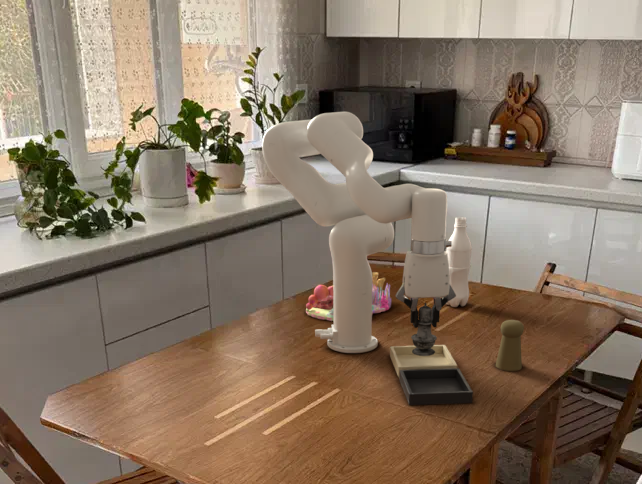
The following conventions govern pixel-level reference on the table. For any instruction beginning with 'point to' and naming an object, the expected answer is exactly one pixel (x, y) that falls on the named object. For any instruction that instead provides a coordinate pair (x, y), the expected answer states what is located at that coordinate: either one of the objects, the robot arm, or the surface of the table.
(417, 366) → the cream tray
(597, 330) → the table surface
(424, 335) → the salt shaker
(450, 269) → the water bottle
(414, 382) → the charcoal tray
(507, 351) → the cork
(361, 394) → the table surface
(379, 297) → the candy landscape model
